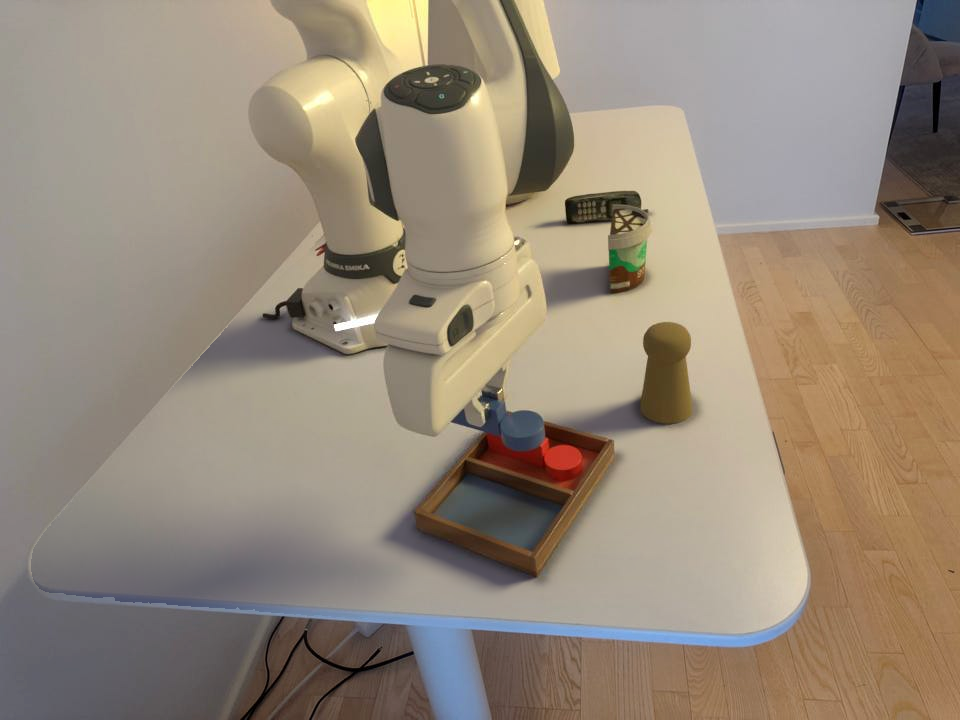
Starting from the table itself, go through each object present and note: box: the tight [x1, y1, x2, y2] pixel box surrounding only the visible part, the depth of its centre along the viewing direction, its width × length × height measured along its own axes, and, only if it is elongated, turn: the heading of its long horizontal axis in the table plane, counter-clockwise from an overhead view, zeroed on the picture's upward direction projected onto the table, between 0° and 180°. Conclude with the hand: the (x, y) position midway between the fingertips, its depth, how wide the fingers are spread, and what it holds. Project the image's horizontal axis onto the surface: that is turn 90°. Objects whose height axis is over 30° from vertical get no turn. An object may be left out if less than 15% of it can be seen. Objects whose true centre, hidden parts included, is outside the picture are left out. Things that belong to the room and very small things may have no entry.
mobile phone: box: [564, 190, 649, 224], centre depth 131 cm, size 5×3×15 cm
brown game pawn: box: [639, 321, 693, 425], centre depth 82 cm, size 6×6×11 cm
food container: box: [607, 205, 653, 294], centre depth 110 cm, size 12×6×10 cm, turn 168°
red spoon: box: [487, 433, 582, 481], centre depth 78 cm, size 11×4×3 cm, turn 58°
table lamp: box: [427, 0, 561, 205], centre depth 138 cm, size 25×25×40 cm
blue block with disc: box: [450, 394, 545, 451], centre depth 67 cm, size 11×4×3 cm, turn 58°
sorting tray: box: [413, 410, 615, 578], centre depth 76 cm, size 14×18×3 cm
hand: (487, 412), depth 67 cm, fingers closed on blue block with disc
